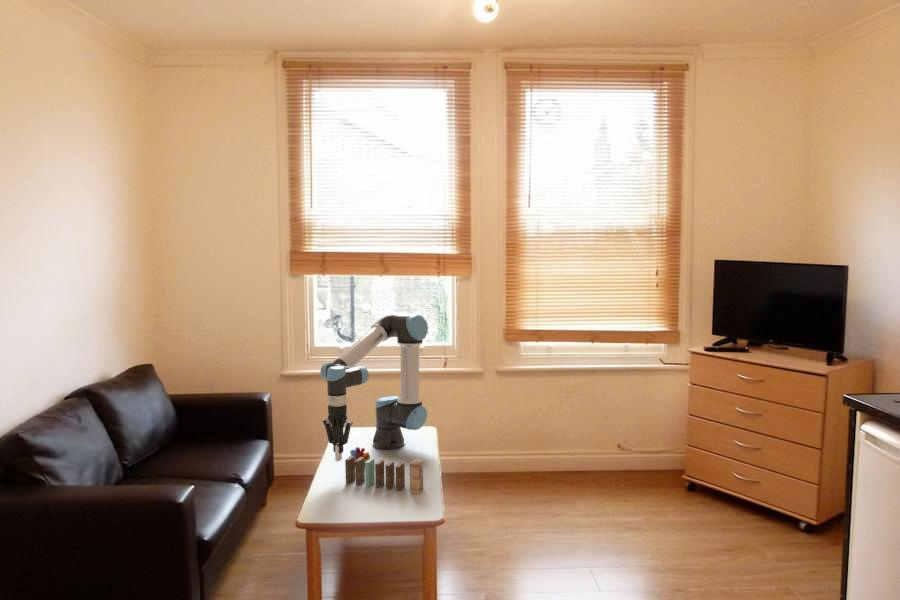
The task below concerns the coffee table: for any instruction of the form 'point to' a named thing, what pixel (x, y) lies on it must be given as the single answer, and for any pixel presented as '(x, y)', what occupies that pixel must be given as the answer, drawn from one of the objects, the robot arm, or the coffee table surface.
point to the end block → (416, 476)
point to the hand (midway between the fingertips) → (338, 460)
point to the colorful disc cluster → (360, 454)
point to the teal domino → (369, 472)
